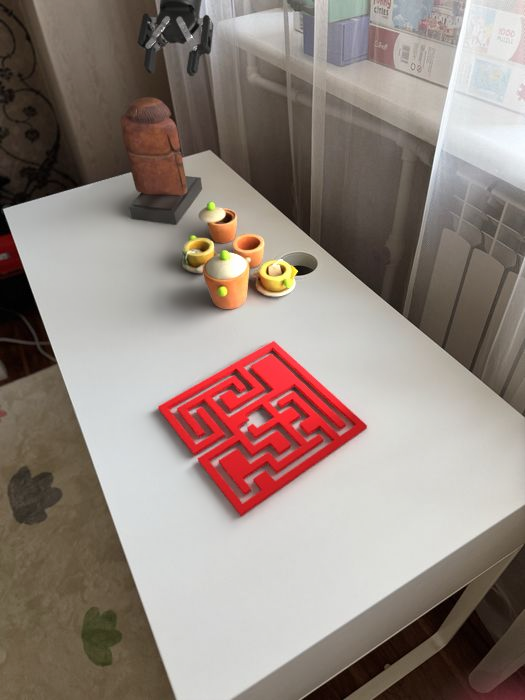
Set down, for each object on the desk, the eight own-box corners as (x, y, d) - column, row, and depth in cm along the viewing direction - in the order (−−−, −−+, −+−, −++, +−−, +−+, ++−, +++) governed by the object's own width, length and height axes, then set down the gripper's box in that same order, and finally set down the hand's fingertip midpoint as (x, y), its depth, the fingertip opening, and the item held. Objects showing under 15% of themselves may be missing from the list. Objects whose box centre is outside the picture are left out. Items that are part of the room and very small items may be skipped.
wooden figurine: (194, 182, 111) (180, 92, 98) (186, 198, 107) (170, 106, 94) (140, 180, 113) (119, 91, 100) (130, 196, 108) (106, 105, 95)
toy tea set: (308, 291, 90) (308, 243, 83) (226, 327, 85) (220, 279, 78) (233, 221, 106) (228, 175, 99) (161, 247, 101) (151, 202, 94)
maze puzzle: (158, 409, 74) (157, 406, 73) (274, 343, 81) (273, 340, 81) (241, 516, 62) (240, 514, 62) (366, 428, 70) (367, 425, 69)
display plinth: (131, 218, 108) (127, 205, 106) (160, 184, 117) (157, 171, 115) (176, 224, 106) (174, 211, 104) (202, 189, 115) (200, 176, 113)
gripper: (140, -27, 100) (127, 61, 100) (211, -27, 96) (197, 65, 97) (157, -2, 107) (145, 80, 108) (224, -1, 103) (211, 84, 104)
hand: (169, 73), depth 102 cm, fingers open, 8 cm apart
